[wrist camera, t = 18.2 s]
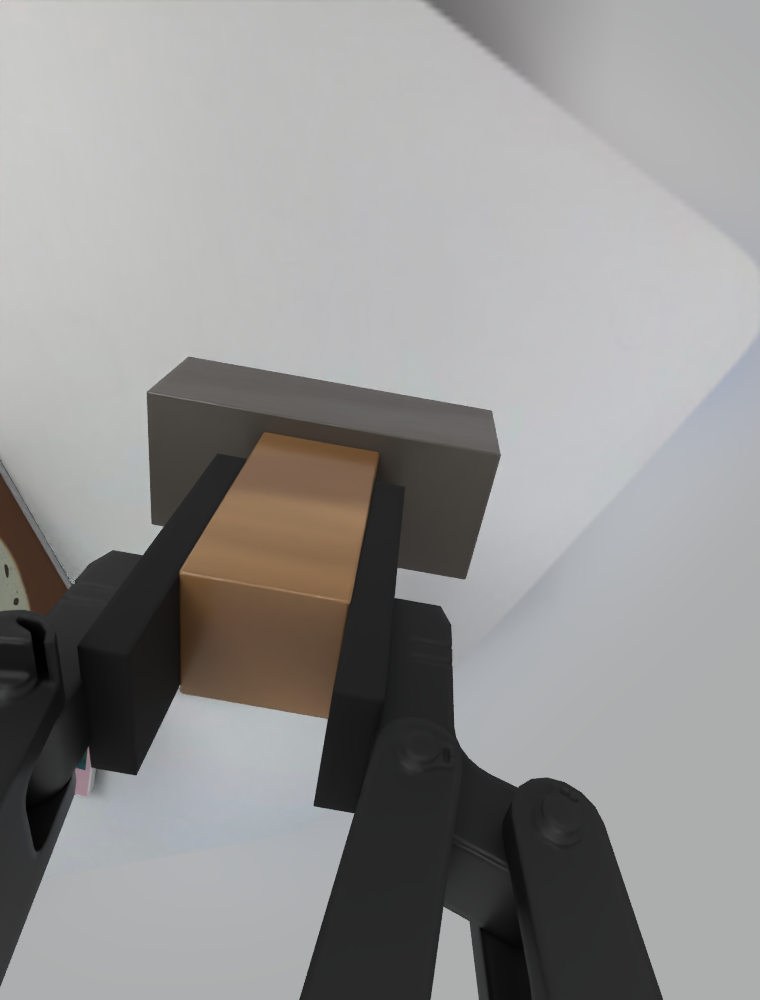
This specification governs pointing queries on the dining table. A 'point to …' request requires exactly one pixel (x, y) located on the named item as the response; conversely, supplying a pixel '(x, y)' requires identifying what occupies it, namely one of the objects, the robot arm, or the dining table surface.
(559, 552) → the dining table surface
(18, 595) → the food container
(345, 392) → the scrub brush
